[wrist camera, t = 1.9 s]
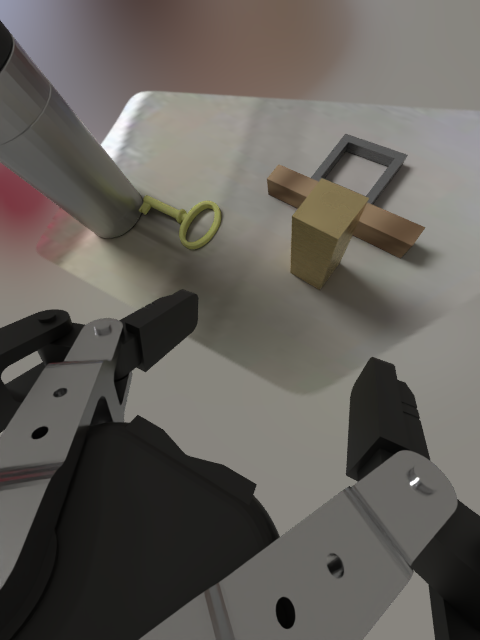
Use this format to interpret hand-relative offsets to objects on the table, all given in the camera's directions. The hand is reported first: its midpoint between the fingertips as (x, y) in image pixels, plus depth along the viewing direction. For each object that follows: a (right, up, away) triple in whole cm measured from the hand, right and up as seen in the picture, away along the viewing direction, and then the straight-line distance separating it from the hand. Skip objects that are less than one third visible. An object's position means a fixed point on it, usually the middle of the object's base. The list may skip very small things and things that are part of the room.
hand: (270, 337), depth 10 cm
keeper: (+13, +19, +18) cm, 29 cm away
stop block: (+7, +7, +16) cm, 19 cm away
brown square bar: (+10, +14, +18) cm, 24 cm away
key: (-9, +15, +23) cm, 29 cm away
